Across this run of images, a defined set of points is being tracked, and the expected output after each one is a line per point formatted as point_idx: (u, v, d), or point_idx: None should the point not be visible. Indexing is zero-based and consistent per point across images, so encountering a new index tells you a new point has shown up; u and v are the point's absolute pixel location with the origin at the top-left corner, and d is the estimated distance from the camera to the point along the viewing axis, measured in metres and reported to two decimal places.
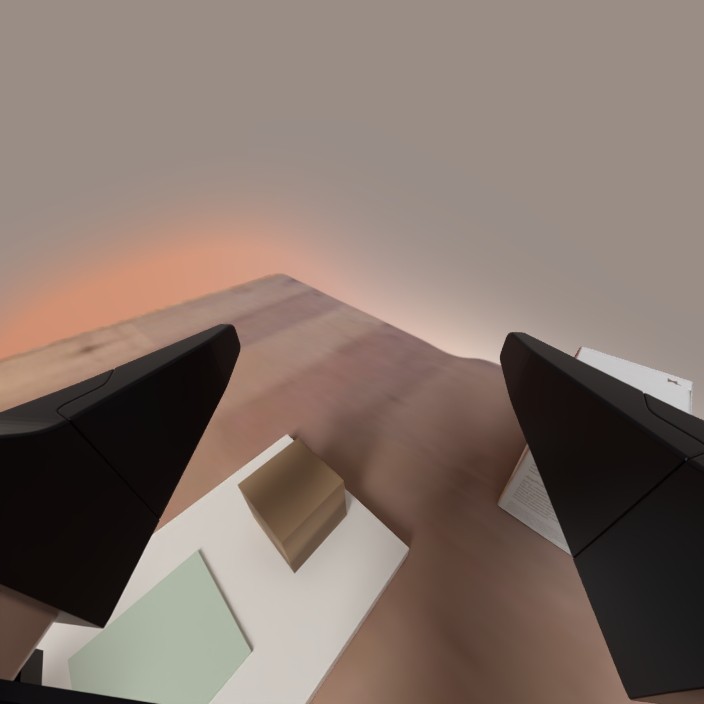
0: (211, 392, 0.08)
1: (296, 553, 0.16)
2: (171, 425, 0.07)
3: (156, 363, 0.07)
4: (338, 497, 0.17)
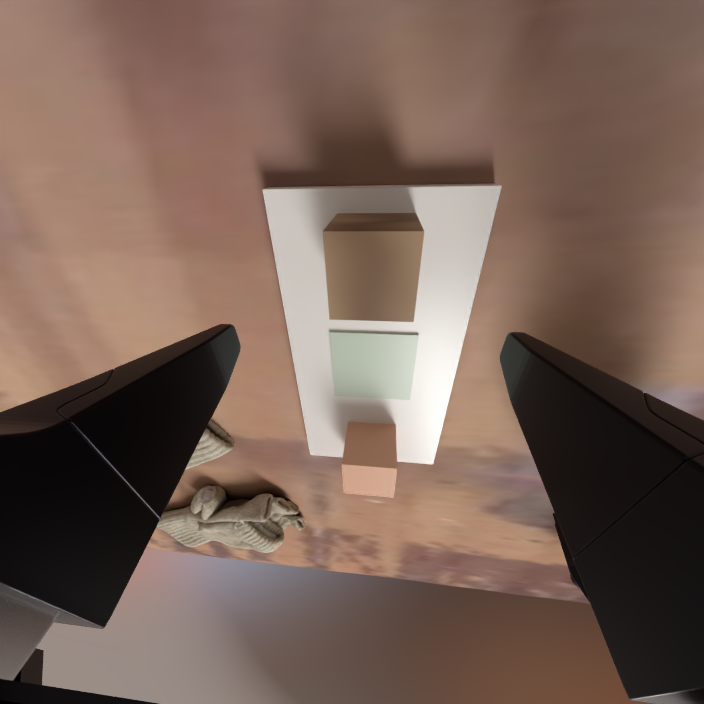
0: (211, 392, 0.08)
1: None
2: (171, 425, 0.07)
3: (156, 363, 0.07)
4: None
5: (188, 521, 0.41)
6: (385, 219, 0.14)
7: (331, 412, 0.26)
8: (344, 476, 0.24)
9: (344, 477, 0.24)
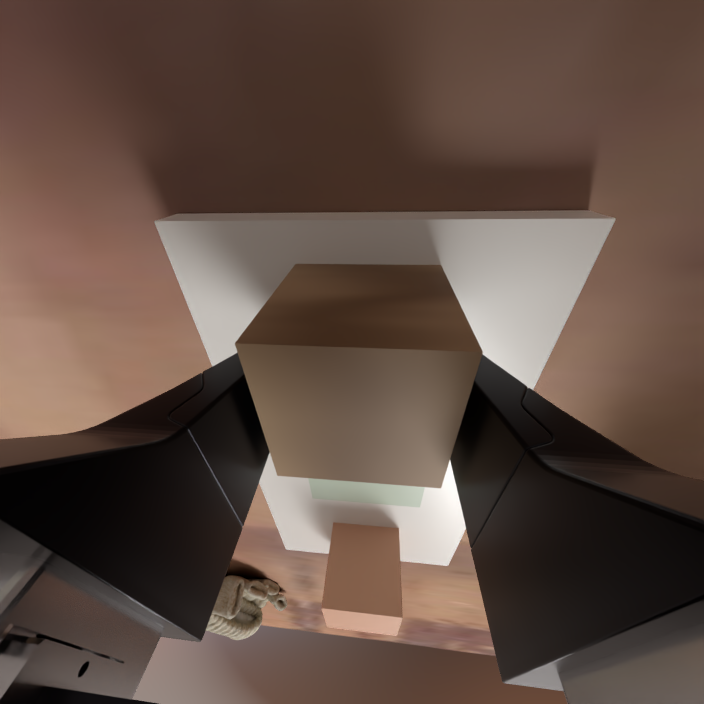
0: None
1: None
2: (254, 430, 0.07)
3: None
4: None
5: None
6: (384, 289, 0.07)
7: (309, 512, 0.19)
8: (326, 616, 0.17)
9: (326, 617, 0.17)
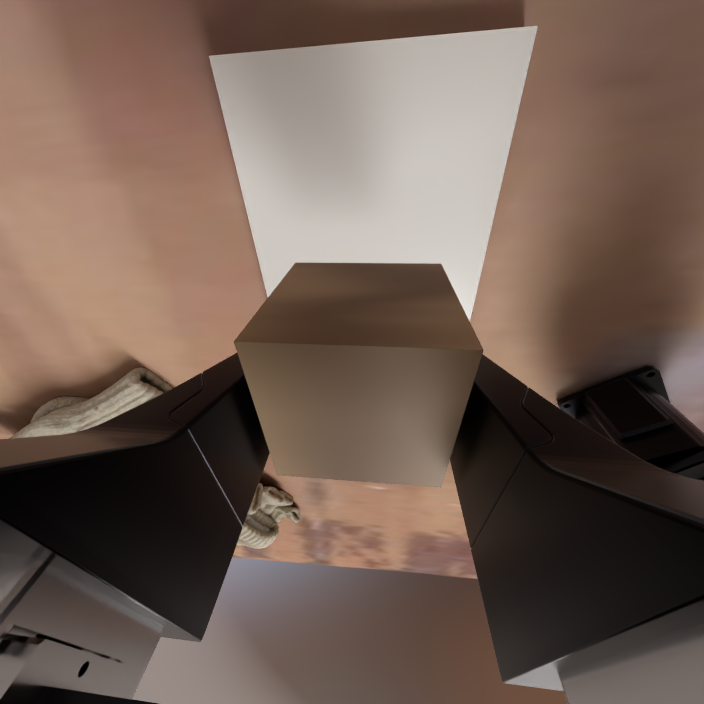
0: None
1: None
2: (254, 430, 0.07)
3: None
4: None
5: None
6: (384, 287, 0.07)
7: None
8: None
9: None
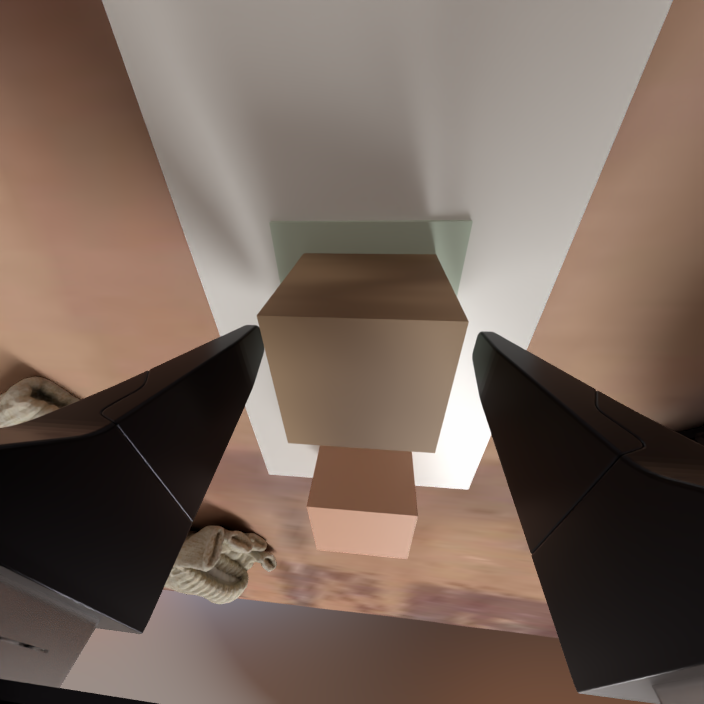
0: (239, 394, 0.08)
1: None
2: (204, 427, 0.07)
3: (190, 364, 0.07)
4: None
5: None
6: (385, 273, 0.08)
7: None
8: (314, 526, 0.13)
9: (315, 527, 0.13)
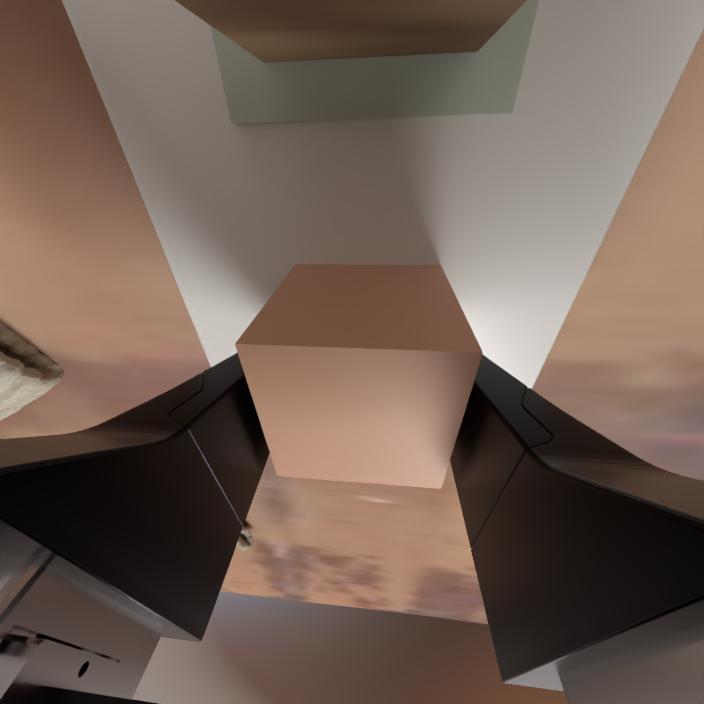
0: None
1: None
2: (254, 430, 0.07)
3: None
4: None
5: None
6: None
7: (240, 226, 0.08)
8: (262, 409, 0.06)
9: (264, 413, 0.06)
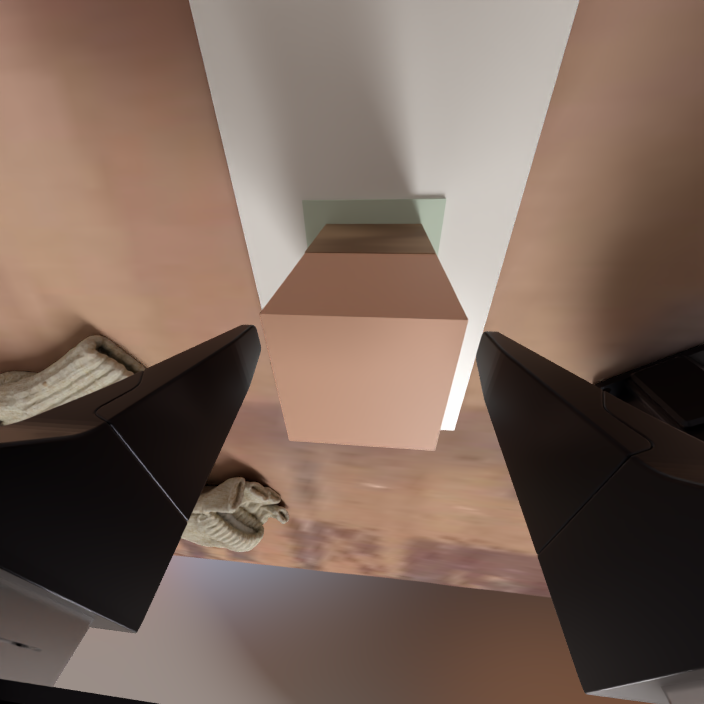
0: (235, 393, 0.08)
1: None
2: (199, 427, 0.07)
3: (185, 364, 0.07)
4: None
5: None
6: (384, 233, 0.12)
7: None
8: (279, 375, 0.07)
9: (280, 379, 0.07)
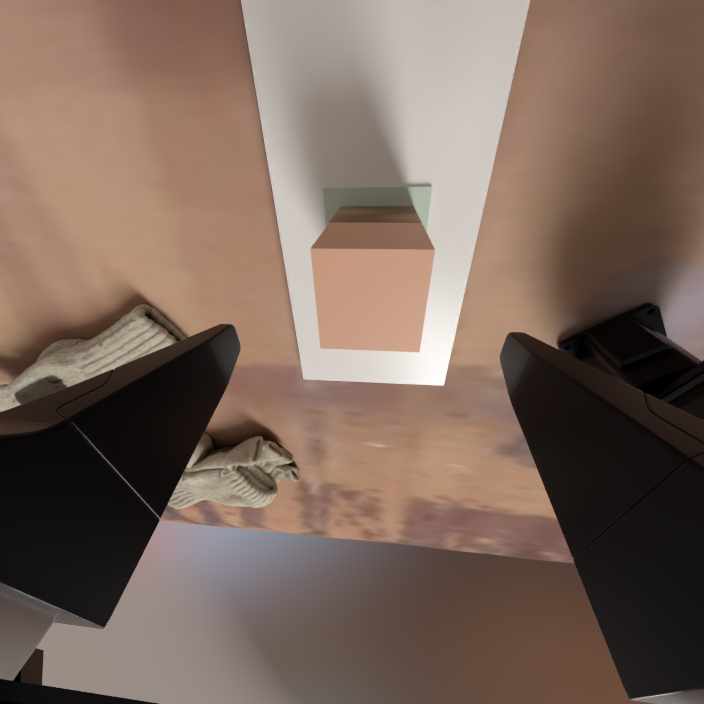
0: (211, 392, 0.08)
1: None
2: (171, 425, 0.07)
3: (156, 363, 0.07)
4: None
5: None
6: (385, 211, 0.16)
7: None
8: (318, 293, 0.11)
9: (318, 296, 0.11)
